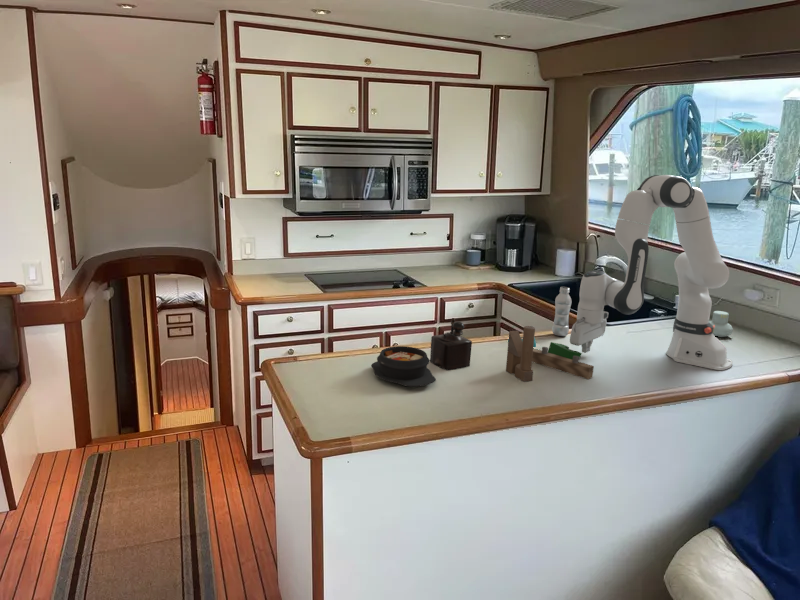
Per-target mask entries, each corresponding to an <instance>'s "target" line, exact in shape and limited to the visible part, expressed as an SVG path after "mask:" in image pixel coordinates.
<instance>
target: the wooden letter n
mask: <svg viewBox="0 0 800 600" xmlns="http://www.w3.org/2000/svg"><path fill="white" fill-rule="evenodd" d="M535 332H536V327H534V326H533V327H532V325H525V326H524V327H523V333H522V336H521V334H520V332H519V330H510V331H508V337H509V339H508V342H507V354H506V364H505V371H506V373H509V374H510V375H514V376H513V377H515V378H517V379H518V380H520V381H521V382H524V383H525V382H531V381H533V377H534V370H533V369H532V364H533V362H532V356H533V345H534V336H535V334H536V333H535ZM521 337H522V338H523V342H522V339H521Z"/></svg>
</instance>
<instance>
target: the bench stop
mask: <svg viewBox="0 0 800 600" xmlns="http://www.w3.org/2000/svg"><path fill="white" fill-rule="evenodd" d="M548 349H549V347H547V346H542V348H541V350H540V349H539V350H538V349H534V348H533V356H532V363H534V362H535V364H538V365H540V366H544V367H548V368H551V369H553V370H557V371H560V372H564V373H566V374H569V375H572V376H575V377H579V378H582V379H585V380H589V379H592V378H593V375H594V365H591V364H588V363H584V362H581V361H580V357H579V356H573V360H572V359H568V358H565V357H561V356H558V355H555V354H551V353H548Z"/></svg>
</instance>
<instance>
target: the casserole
mask: <svg viewBox="0 0 800 600" xmlns="http://www.w3.org/2000/svg"><path fill="white" fill-rule="evenodd" d="M376 360H377V361H374V362H372V364H371V368H372V369H373V372H374V374H375V376H376V377H377V378H379V379H381V380H384V381H386V382H390V383H394V384H399V385H402V386H404V387H410V388H411V387H412V388H416V387H424V386H428V385H431V384H433V383H435V382H436V381H437V378H436V377H435V376H434V375H433V374H432V372H431V370H430V369H429V368H428V365H429V363H431V362H430V358H429V357H428V354H427V353H426V351H424V350H422V349H420V348H416V347H412V346H404V345H402V346H401V345H400V346H399V345H398V346H390V347H385V348H384V349H382V350H380V353H379V355H378V356H377V357H376Z"/></svg>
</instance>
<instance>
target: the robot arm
mask: <svg viewBox="0 0 800 600" xmlns="http://www.w3.org/2000/svg"><path fill="white" fill-rule="evenodd" d="M658 208H672V211H673V213H674V219H675V224H676V225H675V226H676V232H677V237H678V242H679V244H680V245H681V247H682V249H683V251H684V252H681V253H680V254H678V256H677V257H676V258H675V260H674V264H673V265H674V266H673V267H674V270H675V272H676V276H677V284H678V285H677V286H678V303H677V311H676V317H675V318H674V321H673V326H672V332H673V333H672V336H671V339H670V340H671V341H670V342H669V345H668V348H667V350H666V352H665V354H666V355H667V356H668V357H670V359H672V360H673V361H674V362H677V363H681V364H686V365H689V366H690V365H691V366H696V367H701V368H705V369H709V370H710V369H711V370H714V371H724V370H727V369H729V368H731V367H732V366H733V361H732V360H731V359H730V358H727V357H728V356H727V354H728V352H727V347H726V345H725V344H724V343H722V341H720V339H719V338H718V337H715V336H714V335H713V334H712V333H713V329H714V327H715V325H714V326H712V325H711V324H710V323H709V321H710V316H711V312H712V311H711V310H712V303H713V302H712V298H711V296H710V292H709V289H719V288H721V287H723V286H724V285H726V283H727V282H728V281H729V278H730V269H729V267H728V266H727V264H726V263H725V262H724V260H723V258H722V256H721V253H720V251H719V249H718V246H717V244H716V241H715V238H714V235H713V229H712V224H711V217H710V211H709V205H708V201H707V200H706V196H705V193H704V192H703V190H702V189H701V188H699V187H696V186H693V185H692V184H691V183H690V182H689V180H687V179H686V178H684V177H682V176H678V175H674V174H673V175H672V174H662V175H658V174H655V175H650V176H649V177H647V178H645V179H644V180H643V181H642V182H641V184H640V185H639V186H638V188H637V189H635V190H631V191H630V192H628V194H627V195H626V196H625V198H624V200H623V203H622V205H621V207H620V210H619V213H618V216H617V219H616V222H615V227H614V237H615V240H616V241H617V243H618V244H619V245H620V246H621V247H622V248H623V249H624V251H625V253H626V255H627V260H628V261H627V267H626V273H625V279H624V282H623V281H622V280H619V279H616V278H614V277H611V276H610V275H608V274H607V273H606V272H605V271H603V270H595V269H594V270H588V271H587V272H585V273H584V274H583V276H582V277H581V281H580V287H579V293H578V294H579V302H578V305H577V312H576V314H577V315H576V321H575V323H573V325H572V327H571V331H570V336H569V343H570V345H572V346H578V347H579V346H581V353H584V354H586V353H588V352H590V351H591V347H592V344H593V343H594V340H597V339H598V338H600V337H603V336H604V334H605V332H606V328H607V319H608V318H609V312H608V311H605V309H604V308H605V306H609V307H611V308H613V309H616V310H617V311H618V312H620V313H621V314H623V315H632V314H635V313H637V311H639V310H640V309H641V307H642V305H643V304H644V299H645V292H644V287H645V284H644V283H645V278H646V271H647V266H648V260H649V259H648V258H649V249H650V247H649V244H648V243H649V241H648V238H649V231H650V226H651V223H652V222H651V221H652V217H653V216H654V215H653V214H654V212H655V211H656V210H657V209H658Z"/></svg>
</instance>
